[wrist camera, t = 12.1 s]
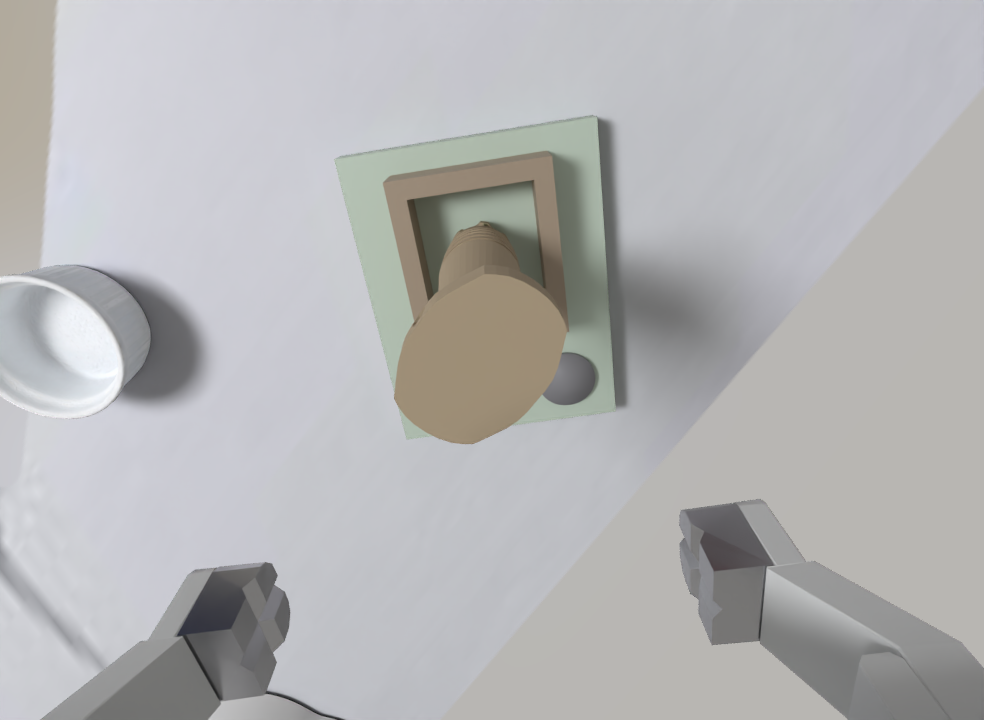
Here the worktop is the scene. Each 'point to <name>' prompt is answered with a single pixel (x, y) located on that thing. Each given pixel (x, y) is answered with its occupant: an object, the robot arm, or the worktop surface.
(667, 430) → the worktop surface
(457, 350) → the handle
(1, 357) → the ramekin
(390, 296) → the green board with frame
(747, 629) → the robot arm
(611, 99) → the worktop surface
